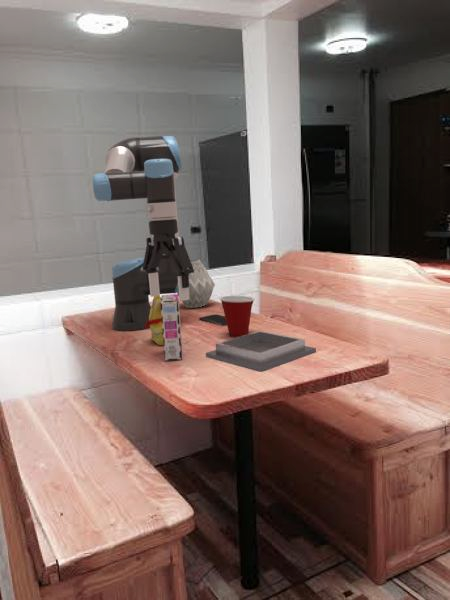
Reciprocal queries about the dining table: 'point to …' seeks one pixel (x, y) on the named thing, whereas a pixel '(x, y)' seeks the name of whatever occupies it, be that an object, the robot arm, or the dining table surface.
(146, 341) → the dining table surface
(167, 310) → the candy bar box
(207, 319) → the phone
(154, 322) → the chocolate bunny
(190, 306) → the vase
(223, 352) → the grey square tray
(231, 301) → the plastic cup
